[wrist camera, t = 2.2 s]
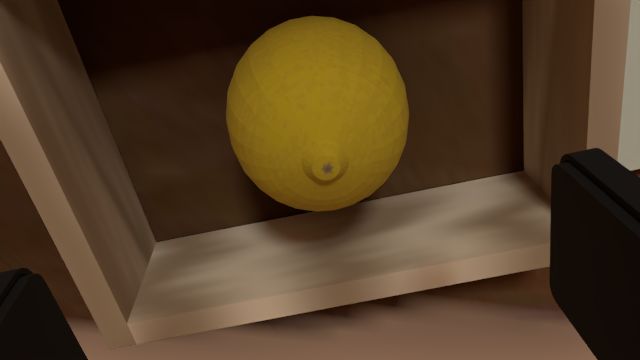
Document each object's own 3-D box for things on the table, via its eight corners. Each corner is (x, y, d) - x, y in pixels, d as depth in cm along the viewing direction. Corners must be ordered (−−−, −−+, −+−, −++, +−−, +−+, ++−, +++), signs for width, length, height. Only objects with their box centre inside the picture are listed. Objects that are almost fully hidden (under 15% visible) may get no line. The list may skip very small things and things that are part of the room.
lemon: (363, 150, 22) (403, 273, 15) (226, 127, 21) (199, 245, 14) (401, 13, 19) (469, 82, 12) (247, -20, 19) (228, 34, 11)
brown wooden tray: (552, -204, 17) (650, -239, 12) (546, 186, 23) (609, 254, 19) (-9, -81, 17) (-109, -72, 13) (141, 264, 24) (109, 349, 19)
